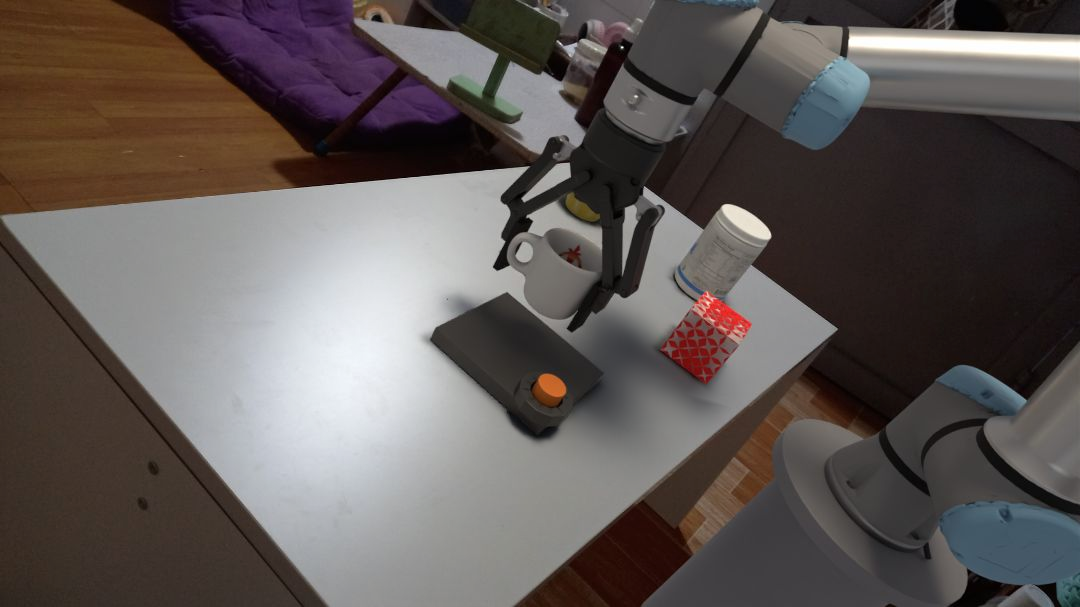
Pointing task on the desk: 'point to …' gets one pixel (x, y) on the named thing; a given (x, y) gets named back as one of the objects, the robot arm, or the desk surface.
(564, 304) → the cup
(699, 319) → the red patterned cube
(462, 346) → the scale
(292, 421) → the desk surface
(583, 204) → the flower pot
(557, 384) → the button
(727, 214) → the supplement tub
